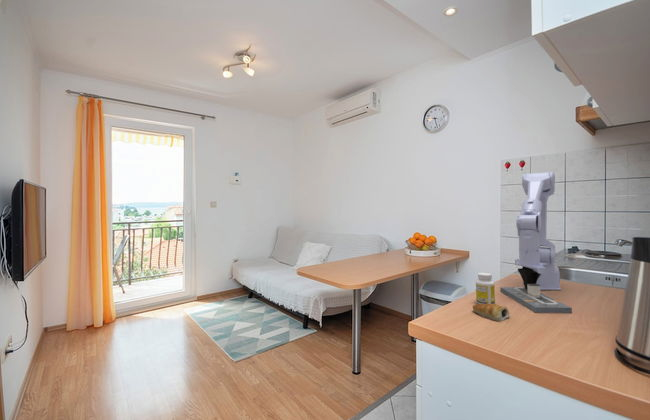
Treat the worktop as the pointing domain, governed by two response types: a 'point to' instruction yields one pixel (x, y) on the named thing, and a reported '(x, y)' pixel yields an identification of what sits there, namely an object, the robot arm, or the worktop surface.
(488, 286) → the supplement bottle
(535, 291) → the fader tab
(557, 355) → the worktop surface
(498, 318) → the pastry
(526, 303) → the console
